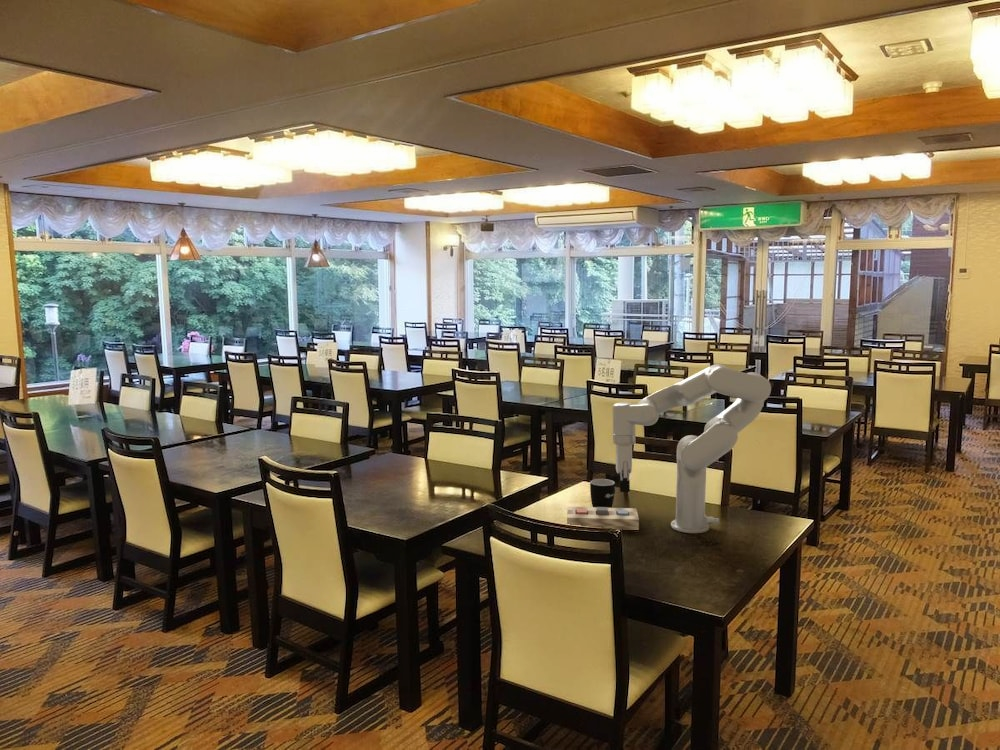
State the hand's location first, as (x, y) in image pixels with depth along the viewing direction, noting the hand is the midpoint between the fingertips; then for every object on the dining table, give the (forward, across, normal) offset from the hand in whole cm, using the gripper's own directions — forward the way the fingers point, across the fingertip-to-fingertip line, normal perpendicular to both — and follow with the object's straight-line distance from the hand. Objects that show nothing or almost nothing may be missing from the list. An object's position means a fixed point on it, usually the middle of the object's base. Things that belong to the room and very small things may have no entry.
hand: (624, 491), depth 247 cm
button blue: (+10, 0, -1) cm, 10 cm away
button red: (+10, 0, -15) cm, 18 cm away
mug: (+12, -18, -6) cm, 23 cm away
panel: (+12, 0, -8) cm, 14 cm away
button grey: (+9, 0, -8) cm, 12 cm away
